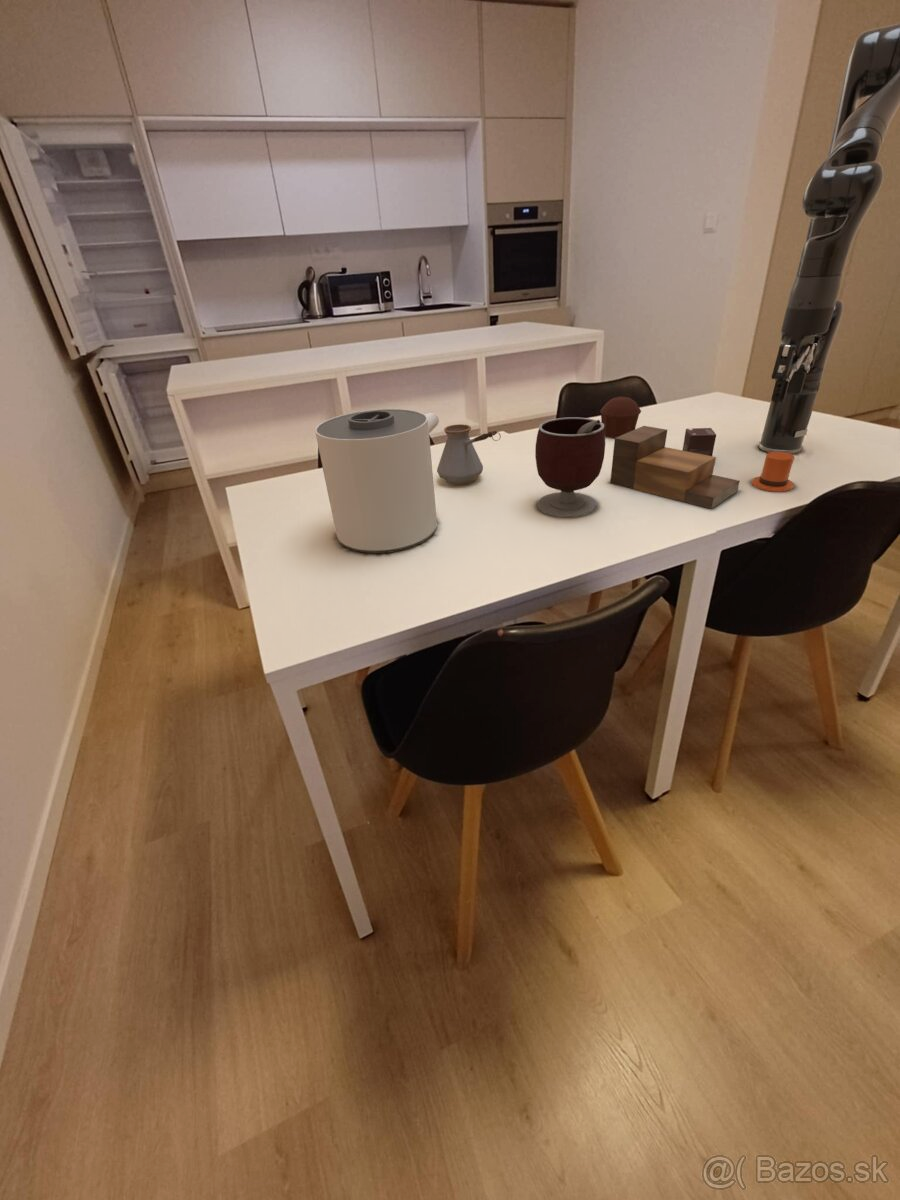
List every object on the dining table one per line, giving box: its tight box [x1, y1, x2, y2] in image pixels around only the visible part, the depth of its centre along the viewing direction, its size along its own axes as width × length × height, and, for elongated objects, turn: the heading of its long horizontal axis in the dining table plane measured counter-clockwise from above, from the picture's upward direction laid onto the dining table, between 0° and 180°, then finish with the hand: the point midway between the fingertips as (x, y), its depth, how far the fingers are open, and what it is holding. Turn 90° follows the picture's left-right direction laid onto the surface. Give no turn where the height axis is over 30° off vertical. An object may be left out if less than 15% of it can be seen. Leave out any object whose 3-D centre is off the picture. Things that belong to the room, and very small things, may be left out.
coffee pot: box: [436, 423, 502, 486], centre depth 124 cm, size 21×12×15 cm, turn 33°
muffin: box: [599, 396, 642, 439], centre depth 152 cm, size 12×11×10 cm
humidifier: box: [314, 408, 440, 554], centre depth 104 cm, size 22×21×23 cm
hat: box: [751, 452, 795, 493], centre depth 114 cm, size 8×8×7 cm
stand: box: [609, 425, 741, 510], centre depth 116 cm, size 12×24×10 cm, turn 42°
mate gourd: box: [534, 416, 606, 518], centre depth 108 cm, size 16×14×20 cm
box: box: [681, 427, 717, 456], centre depth 129 cm, size 6×6×7 cm
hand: (786, 396), depth 105 cm, fingers open, 8 cm apart
